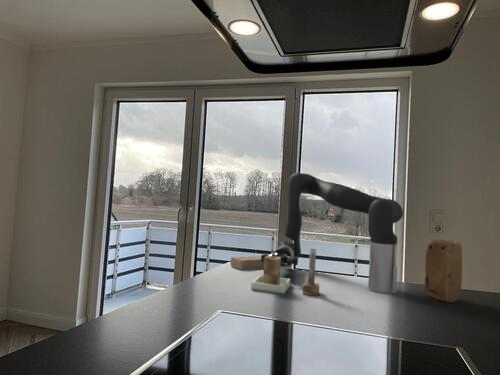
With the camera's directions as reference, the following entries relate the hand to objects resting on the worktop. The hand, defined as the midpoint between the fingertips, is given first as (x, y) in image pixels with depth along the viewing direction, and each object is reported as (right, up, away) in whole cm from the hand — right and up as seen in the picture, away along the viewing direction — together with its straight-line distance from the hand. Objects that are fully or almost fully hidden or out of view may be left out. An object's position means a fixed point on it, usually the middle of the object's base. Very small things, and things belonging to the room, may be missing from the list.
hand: (276, 262), depth 134 cm
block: (+56, -10, -11) cm, 58 cm away
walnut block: (-2, -7, -8) cm, 11 cm away
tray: (-3, -7, -8) cm, 11 cm away
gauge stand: (+11, -8, -13) cm, 18 cm away
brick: (-10, -8, +26) cm, 29 cm away
